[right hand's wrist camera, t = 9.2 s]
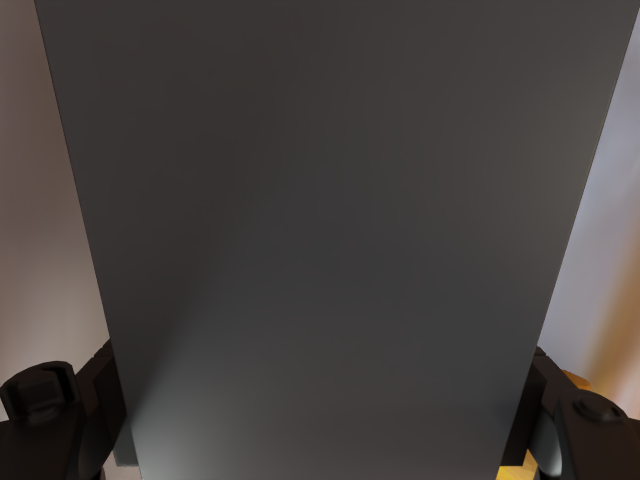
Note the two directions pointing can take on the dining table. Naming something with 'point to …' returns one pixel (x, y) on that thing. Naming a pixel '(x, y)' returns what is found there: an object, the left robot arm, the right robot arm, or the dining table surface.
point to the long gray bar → (329, 218)
